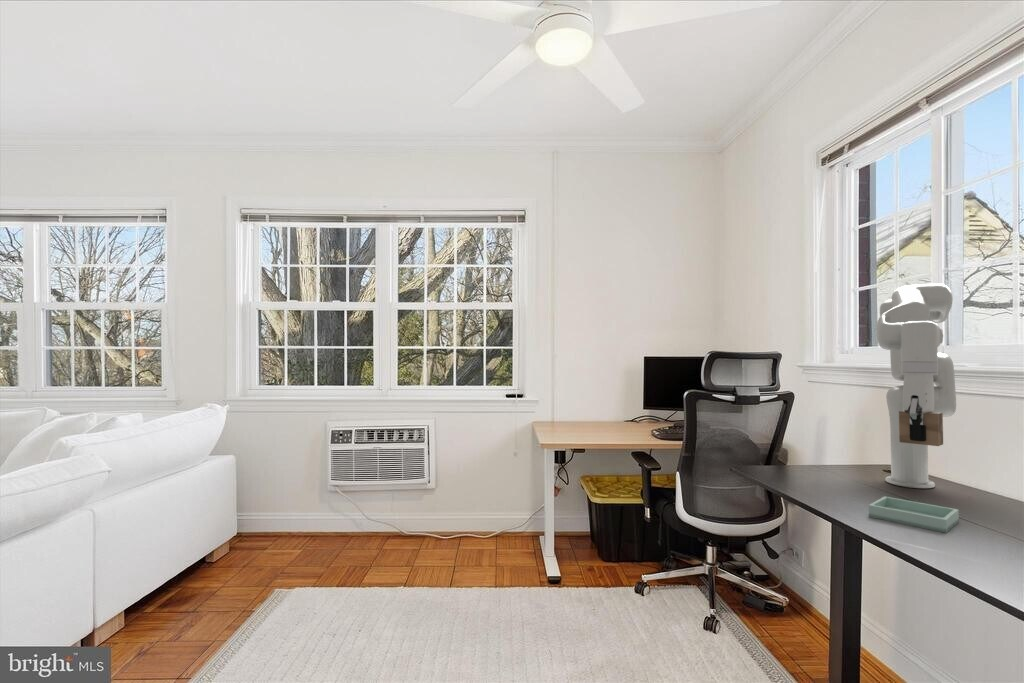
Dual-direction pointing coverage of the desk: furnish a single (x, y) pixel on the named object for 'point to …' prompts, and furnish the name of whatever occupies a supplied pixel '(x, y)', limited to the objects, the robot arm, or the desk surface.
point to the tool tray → (914, 514)
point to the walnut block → (933, 428)
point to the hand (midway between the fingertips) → (920, 438)
